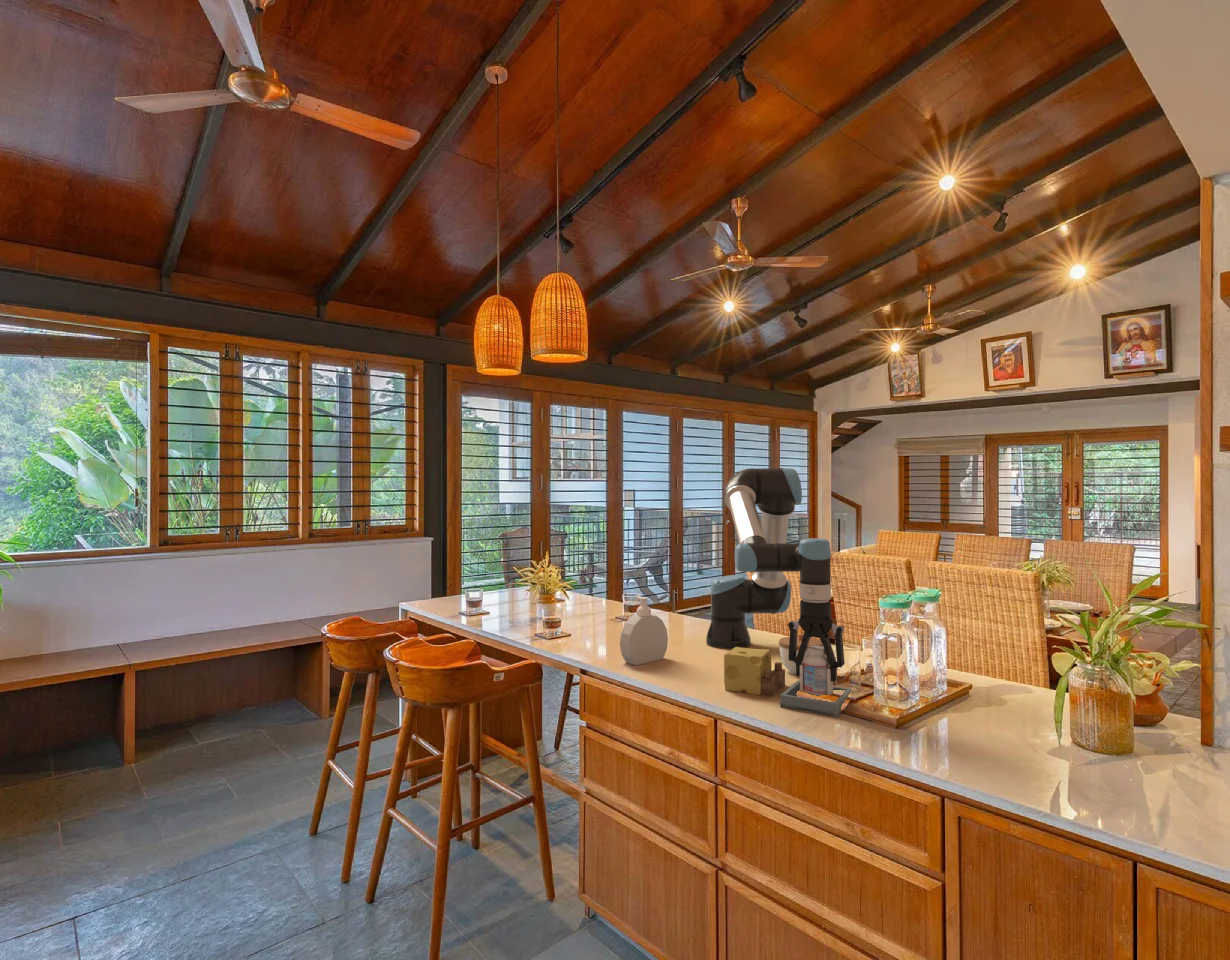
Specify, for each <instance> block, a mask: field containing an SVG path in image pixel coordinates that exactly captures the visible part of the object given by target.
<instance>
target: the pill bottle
mask: <svg viewBox="0 0 1230 960" xmlns="http://www.w3.org/2000/svg"><path fill="white" fill-rule="evenodd" d="M807 654H808V656H806V657H805V658H804V691H805V692H806V693H808V694H811V695H816V696H820V695H827V668H829V667H830V666H829V663H828V659H827V656H826V653H825V650H824V647H820V646H809V647H807Z"/></svg>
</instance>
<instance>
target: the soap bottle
mask: <svg viewBox="0 0 1230 960" xmlns="http://www.w3.org/2000/svg"><path fill="white" fill-rule="evenodd" d="M636 599H637V600H639V601H640V606H638V608H637V609H636V614H635V615H634V614H633V615H631V616H630V617H629V618H628V619H627V620H626V621H625V623H624V625H623V628H622V629H621V633H620V640H619V647H620V654H621V656H622V659H623V660H624V662H625V663H627V664H629V665H633V666H639V665H644V664H648V663H653V661H654V662H658V661H662V660H663V659H664V657H665V654H666V652H667V650H668V642H669V636H668V629H667V627H666V625H665V623H664V621H663V619H662V618H660V617H659V616H658V615H656V614H652V609H651V607H649V606H648V597H645V596H637V598H636Z"/></svg>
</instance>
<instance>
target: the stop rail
mask: <svg viewBox="0 0 1230 960" xmlns="http://www.w3.org/2000/svg"><path fill="white" fill-rule="evenodd" d="M785 686H786V669H785V668H783V663H782V661H781V662H780V661H776V662H774V669H773V670H772V668H771V669H764V677H763V678H762V679H761V695H760V696H762V697H767V698H770V697H772V696H774V695H775V694H776V693H777V692H779V690H781V689H782V688H783V687H785Z"/></svg>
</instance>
